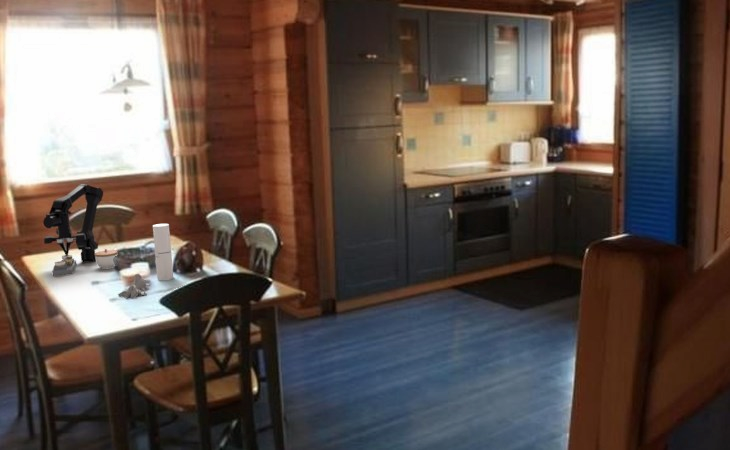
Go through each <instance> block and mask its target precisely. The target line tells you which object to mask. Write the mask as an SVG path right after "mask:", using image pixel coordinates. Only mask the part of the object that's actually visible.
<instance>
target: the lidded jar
mask: <svg viewBox="0 0 730 450" xmlns="http://www.w3.org/2000/svg"><path fill="white" fill-rule="evenodd" d="M118 253H119V252H118V251H117V250H115V249H107V248H105V249H104V250H100V251H97V252H96V251H95V259H96V261H95V263H96V265H97V266H98V267H99V268H100V269H102V270H110V269H113V268H114V267H115V266H114V264H113V258H114V257H115V256H117V255H118Z"/></svg>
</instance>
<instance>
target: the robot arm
mask: <svg viewBox="0 0 730 450" xmlns="http://www.w3.org/2000/svg"><path fill="white" fill-rule="evenodd" d="M83 196H84V198H85V201H86V208H85V212H84V218H83V221H82V228H81V230H80V231H77V232H76V234H75V235H73V233H72V229H71V224H70V216H69V215H72V214H73V213H72V212H71V211H70V210H71V208H72V207H73V204H74V202H76V201H77V200H78V199H80V198H81V197H83ZM103 196H104V190H103V189H102V188H101V187H96V186H93V185H90V184H87V183H85V184H83V183H82V184H81V183H80V184H79V185H78V186H77V187H76V188H74V189H73V190H71V191H70V192H69V193H68V194H67V195H65V196H62V197H59V198H57V199H54V200H53V202H52V205H51V207H50V210H49V213H47V214H45V217H44V218H43V221H42V222H43V226H44V227H45V228H47V229H52V228H56V229H55V231H56V233H55V234H56V235H57V236H56V237H55V236H54V235H48V236H44V239H43V242H44V244H45V245H47V244H52V243H53V242H56V243H57V245H59V246H60V248H61V249H62V251H63V252H64V255H66V256H67V255H69V251H70V249H71V248H70V246H71V245H72V244H73V243H74V242H75V244H76V247H77V249H78V251H79V250H80V251H81V252H80V260H81V262H82V263H88V262H89V263H91V262H96V259H95V253H96V250H97V249H99V244H98V243H97V242H96V241H95V236H94V233H93V228H94V224H95V218H96V212H97V209H98V205H99V204H100V202H102V199H103ZM65 241H66V242H65Z"/></svg>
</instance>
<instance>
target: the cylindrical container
mask: <svg viewBox="0 0 730 450" xmlns="http://www.w3.org/2000/svg"><path fill="white" fill-rule="evenodd" d="M152 232H153V233H152V235H153V244H154V255H155V266H156V277H157V278H156V279H157V280H158V281H169V280H173V279H174V268H173V257H172V256H173V255H172V245H171V234H170V232H171V231H170V224H169V223H157V224H153V225H152Z"/></svg>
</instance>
